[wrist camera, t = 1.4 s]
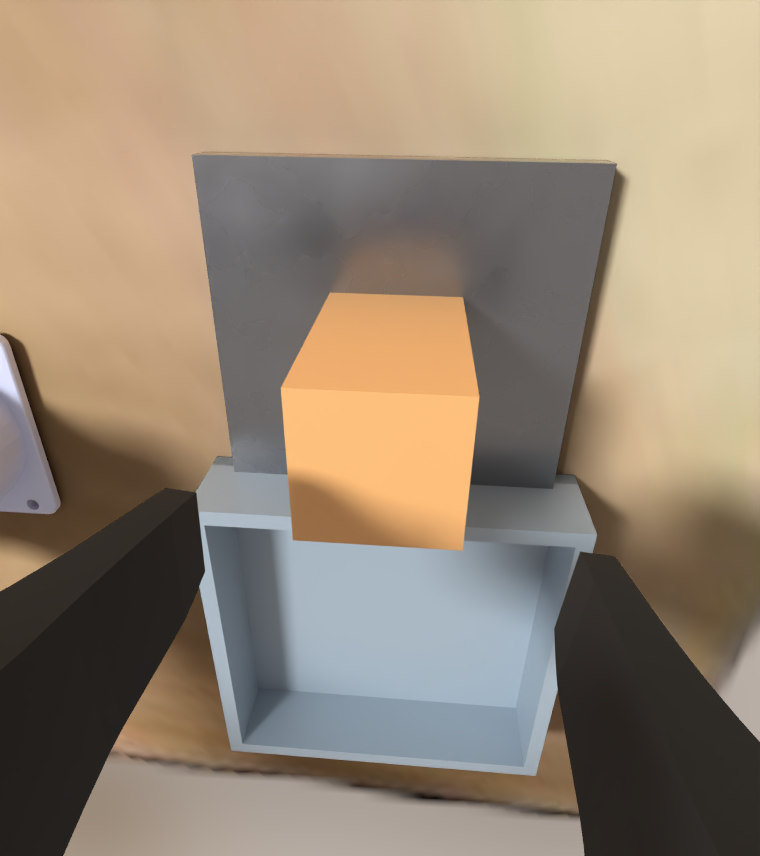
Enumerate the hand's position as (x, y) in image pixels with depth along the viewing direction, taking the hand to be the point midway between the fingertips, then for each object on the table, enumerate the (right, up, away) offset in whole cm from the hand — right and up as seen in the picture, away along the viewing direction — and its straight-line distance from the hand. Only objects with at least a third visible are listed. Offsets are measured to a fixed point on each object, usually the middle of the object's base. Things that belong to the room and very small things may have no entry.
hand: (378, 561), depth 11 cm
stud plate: (+1, +5, +9) cm, 11 cm away
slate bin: (0, -5, +15) cm, 16 cm away
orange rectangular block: (0, +5, +8) cm, 10 cm away
